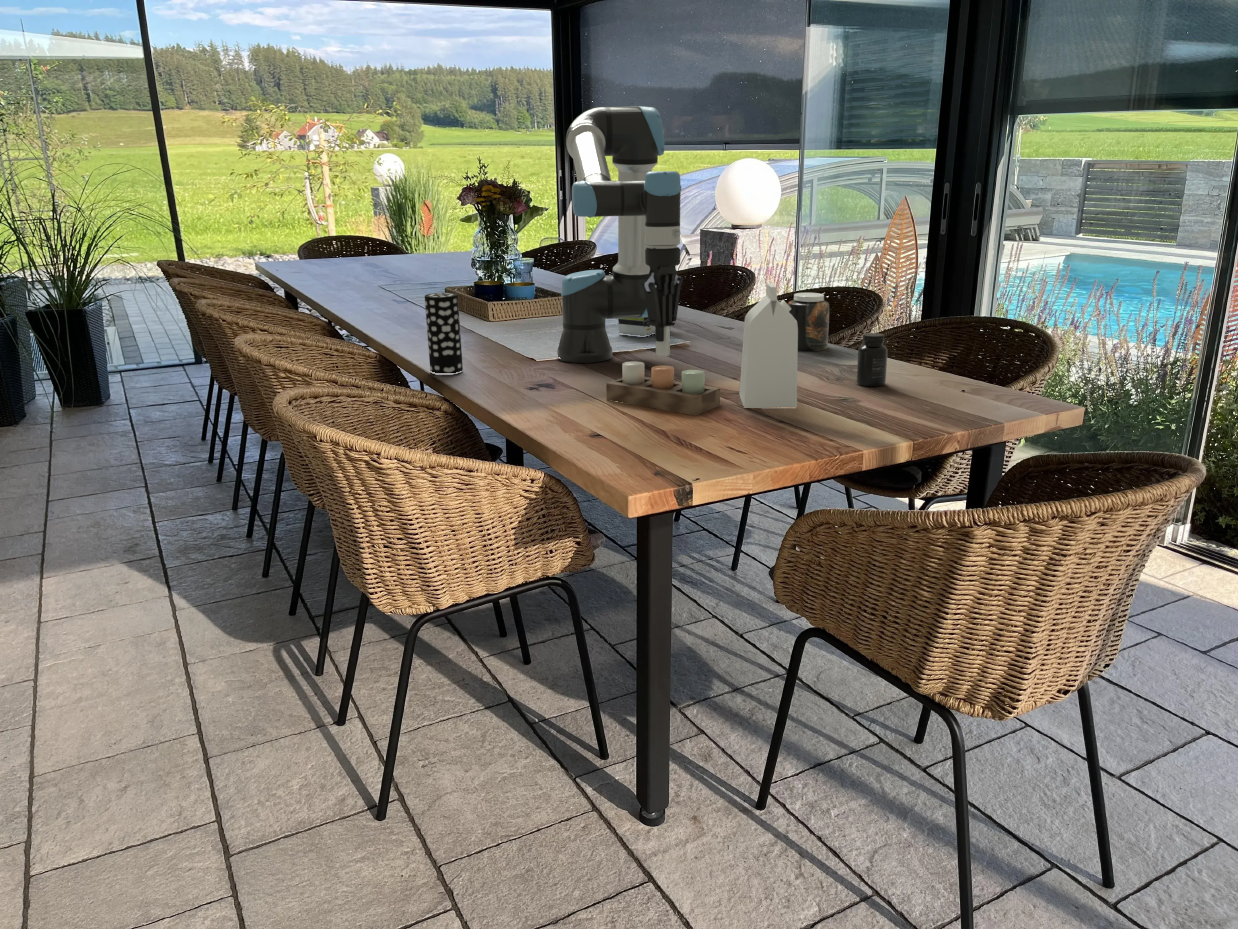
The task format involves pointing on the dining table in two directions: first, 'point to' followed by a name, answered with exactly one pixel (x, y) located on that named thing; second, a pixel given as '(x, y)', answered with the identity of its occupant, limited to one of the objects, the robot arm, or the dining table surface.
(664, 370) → the peach rounded cylinder
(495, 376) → the dining table surface
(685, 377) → the pale green domed cylinder
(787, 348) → the milk
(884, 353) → the supplement bottle
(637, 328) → the tea box
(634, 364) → the off-white button
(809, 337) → the jar
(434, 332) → the white-spotted black cylinder
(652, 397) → the wooden compartment tray
